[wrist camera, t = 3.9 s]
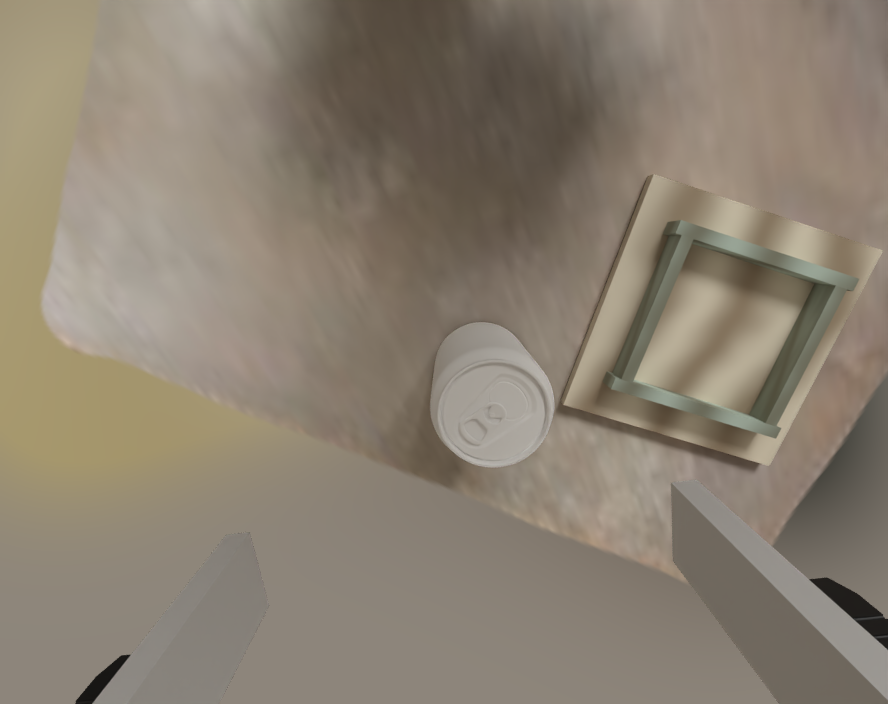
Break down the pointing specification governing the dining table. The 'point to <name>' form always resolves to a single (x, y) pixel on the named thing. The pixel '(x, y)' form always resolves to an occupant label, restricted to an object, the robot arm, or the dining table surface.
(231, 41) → the dining table surface
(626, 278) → the board
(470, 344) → the beverage can
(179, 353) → the dining table surface
